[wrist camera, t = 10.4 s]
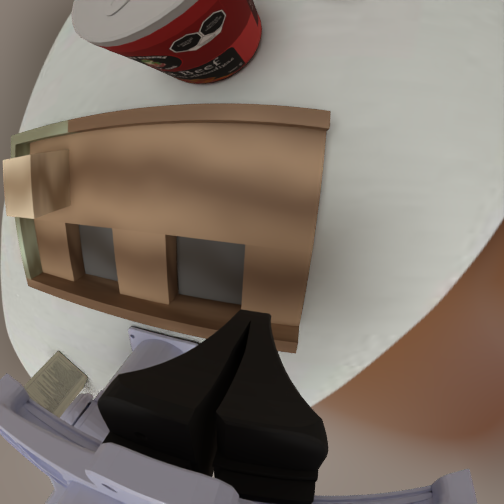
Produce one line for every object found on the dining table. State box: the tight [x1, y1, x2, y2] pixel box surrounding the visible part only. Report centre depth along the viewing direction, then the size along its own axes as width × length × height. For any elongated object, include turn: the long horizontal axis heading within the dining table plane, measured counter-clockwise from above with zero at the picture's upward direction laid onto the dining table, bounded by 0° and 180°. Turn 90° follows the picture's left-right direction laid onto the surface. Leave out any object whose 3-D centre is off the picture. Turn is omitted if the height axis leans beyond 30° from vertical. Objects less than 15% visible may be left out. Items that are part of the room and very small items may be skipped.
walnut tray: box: [11, 104, 331, 353], centre depth 20 cm, size 16×28×4 cm, turn 86°
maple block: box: [3, 149, 71, 219], centre depth 18 cm, size 5×5×4 cm
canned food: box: [72, 0, 262, 84], centre depth 11 cm, size 8×8×11 cm
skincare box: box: [24, 351, 87, 418], centre depth 28 cm, size 6×4×12 cm
